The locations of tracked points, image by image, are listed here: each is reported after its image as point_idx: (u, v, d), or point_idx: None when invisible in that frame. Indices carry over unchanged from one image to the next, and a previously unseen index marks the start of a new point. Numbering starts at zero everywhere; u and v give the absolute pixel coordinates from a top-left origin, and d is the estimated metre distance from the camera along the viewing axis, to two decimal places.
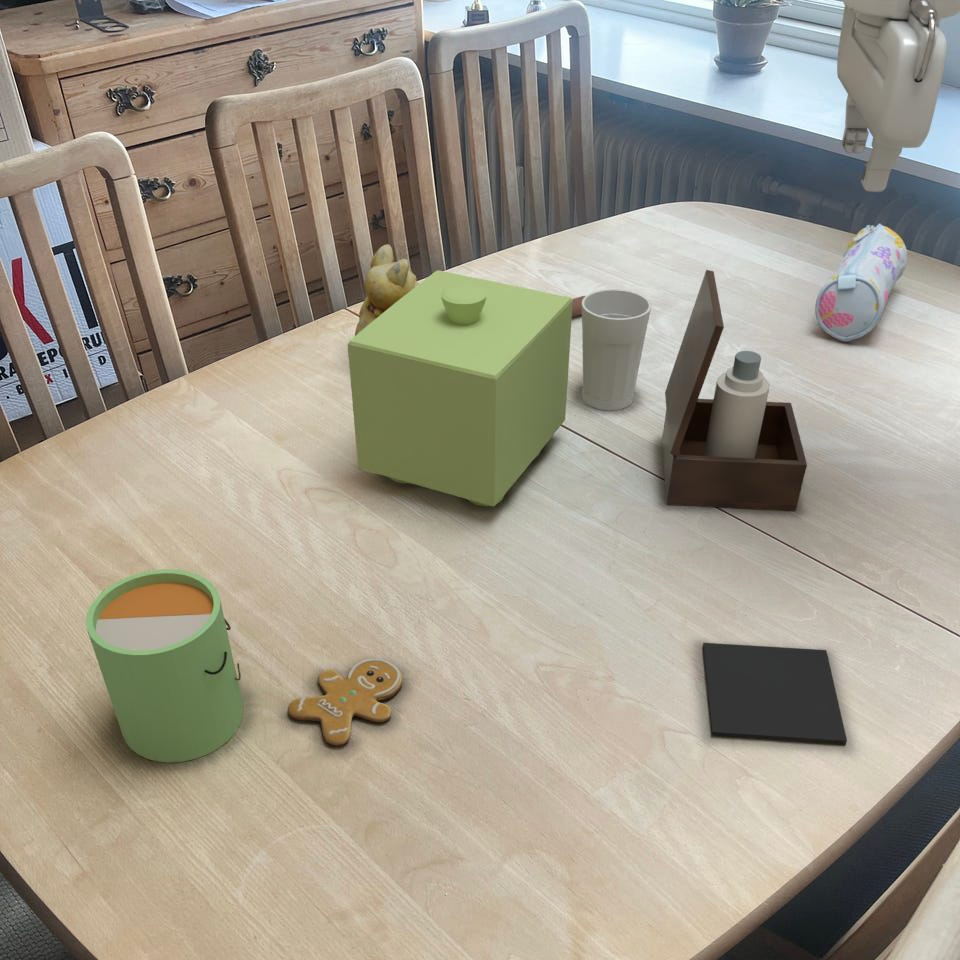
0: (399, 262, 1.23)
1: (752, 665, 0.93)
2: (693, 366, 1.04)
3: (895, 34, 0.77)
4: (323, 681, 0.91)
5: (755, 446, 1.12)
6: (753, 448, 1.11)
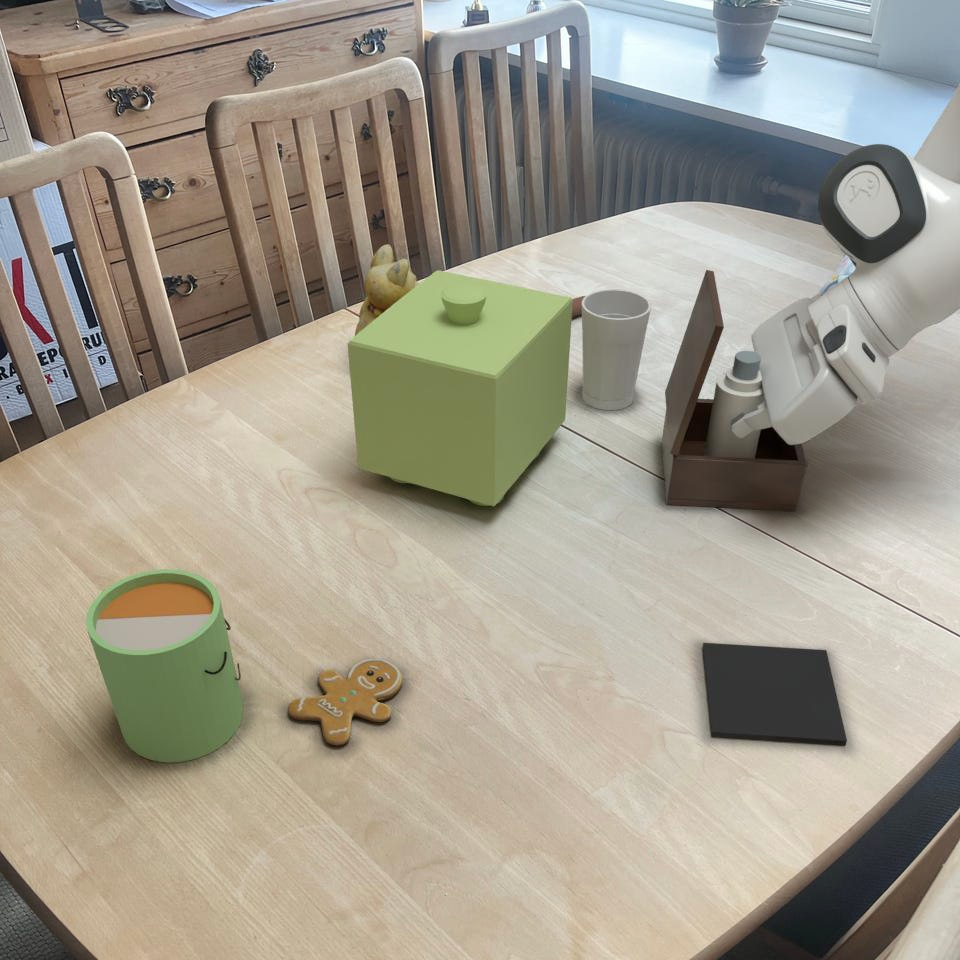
0: (399, 262, 1.23)
1: (752, 665, 0.93)
2: (693, 366, 1.04)
3: None
4: (323, 681, 0.91)
5: (756, 446, 1.12)
6: (753, 448, 1.11)
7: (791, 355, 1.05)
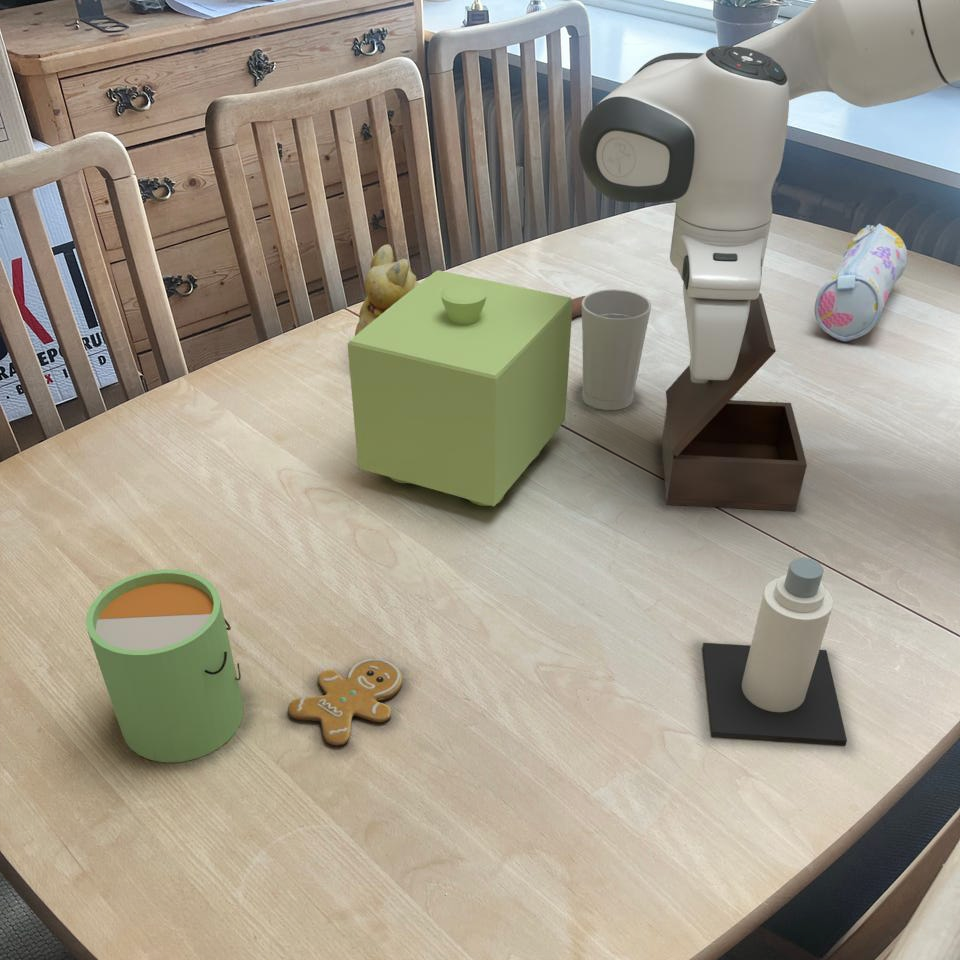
0: (399, 262, 1.23)
1: None
2: None
3: None
4: (323, 681, 0.91)
5: (812, 670, 0.87)
6: (809, 673, 0.86)
7: None
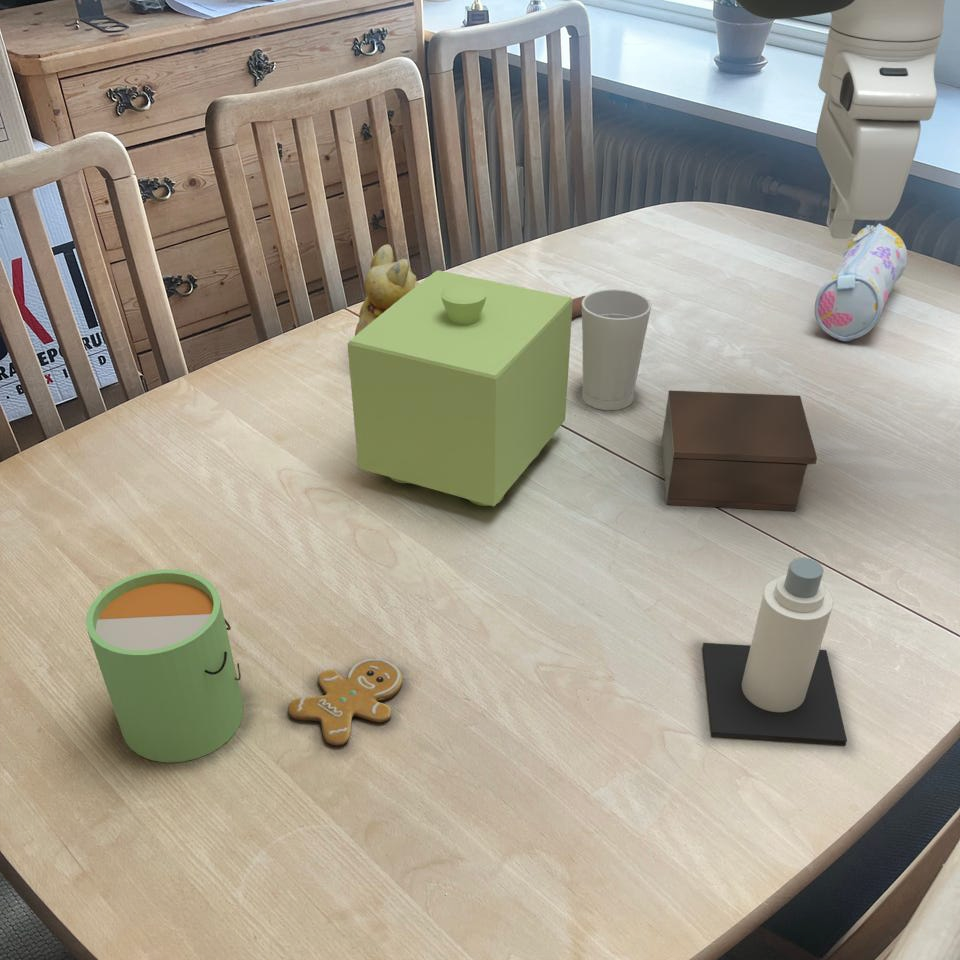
0: (399, 262, 1.23)
1: None
2: (753, 438, 1.09)
3: None
4: (323, 681, 0.91)
5: (812, 670, 0.87)
6: (809, 673, 0.86)
7: (840, 136, 0.91)
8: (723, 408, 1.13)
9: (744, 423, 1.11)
